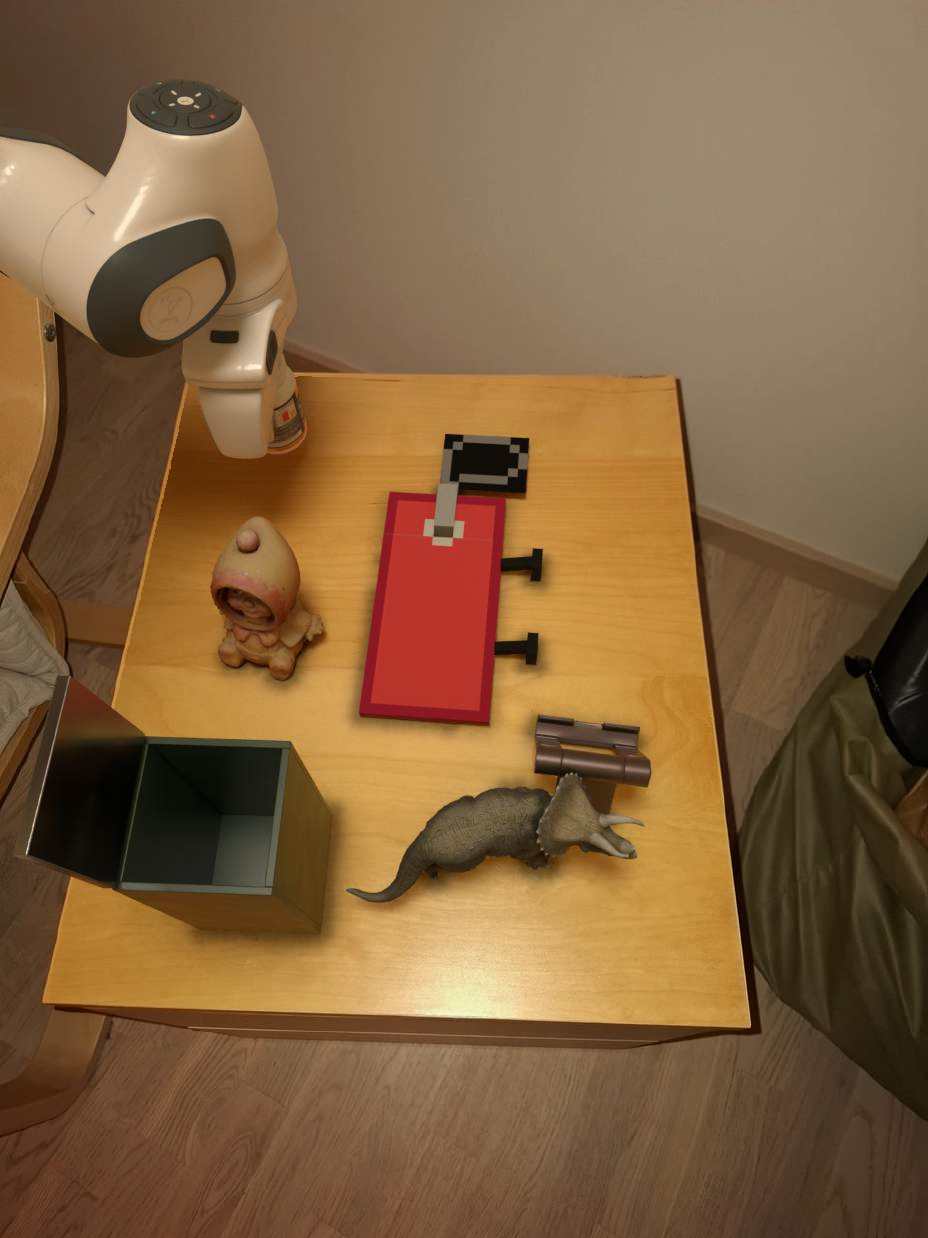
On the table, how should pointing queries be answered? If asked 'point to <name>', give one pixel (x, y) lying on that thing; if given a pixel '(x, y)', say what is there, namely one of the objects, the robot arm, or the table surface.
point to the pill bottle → (287, 413)
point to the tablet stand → (591, 756)
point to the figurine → (261, 600)
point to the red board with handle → (446, 589)
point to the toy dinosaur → (507, 833)
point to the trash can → (227, 836)
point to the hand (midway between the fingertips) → (270, 405)
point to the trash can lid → (80, 787)
